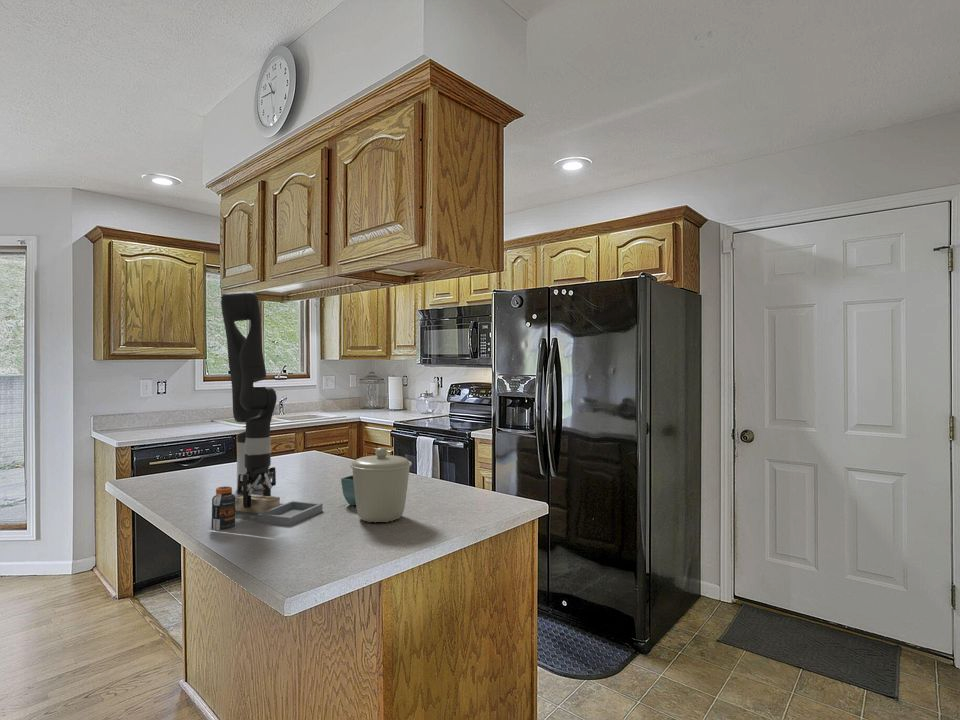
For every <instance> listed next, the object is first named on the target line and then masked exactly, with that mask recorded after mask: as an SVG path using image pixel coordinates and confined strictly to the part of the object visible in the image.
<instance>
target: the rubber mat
mask: <svg viewBox="0 0 960 720" xmlns="http://www.w3.org/2000/svg"><path fill="white" fill-rule="evenodd" d="M283 504H284V503H280V505H283ZM257 514H259V513H253V512H244V511H236V509H235V519H240V520H248V521H254V522H255V521H256V522H257Z"/></svg>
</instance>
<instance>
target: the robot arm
mask: <svg viewBox="0 0 960 720" xmlns="http://www.w3.org/2000/svg"><path fill="white" fill-rule="evenodd" d="M220 305H221V312H222V313H221V314H222V318H223V325H224V329H225V335H226V336H225V337H226V344H227V345H226V346H227V357H228V358H227V360H228V368H229V374H230V381H231V393H232V414H233V419H234V421H235V422H237V423H242V424H243V423H245V430H244V431H241V432H239V433H238V434H237V437H236V440H237V441H236V442H237V443H236V447H237V448H236V452H237V453H236V490H237V495H241V496H243V506H244V508H250V507H251V494H253V492H254V491H260V490H262V495H263V496H272V494H271V492H272V491H271V489H272V488H273V487H275V486H276V485H277V481H276V480H277V477H276V475H277V474H276V471H277V470H276V467H275V466H271V464H272V463H271V461H272V460H271V459H272V458H271V457H272V453H271V452H272V444H271V443H272V442H271V423H272V418H273V415H274V411H275V408H276V404H277V400H278V397H277V392H276V391H275V389H274V388H273V387H270V386H254V383H257V382H260V381H263V380H265V378H266V377H267V372H266V370H267V369H266V364H265V360H264V359H265V358H264V353H263V344H262V343H263V341H262V339H263V338H262V320H261V309H260V308H261V307H260V302H259V298H258V296H257V294H256V293H255V291H237V292H235V291H234V292H233V291H232V292H226V293H223V294H222V295H221V299H220ZM241 321H242V322H243V321H250V328H249V331H248V334H247V336H246V337H245V336H244V335H243V334H242V332H241V331H240V329H239V328H238V326H237V325H236V323H235V322H241Z"/></svg>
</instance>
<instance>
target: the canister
mask: <svg viewBox="0 0 960 720" xmlns="http://www.w3.org/2000/svg"><path fill="white" fill-rule="evenodd" d="M374 453H375V455H367V456H362V457H359V458H356V459H355V460H354V461H353V462H350V464H349V466H350V468H352V475H353V481H354V491H355V500H356V513H357V515H358V517H359V518H360V520H362V521H364V522H366V521H367V523H370V522H375V523H374V524H377V523H376V522H386V523H390V522H389V521H391V522H394V521H393V520H395V521H397V520H399V519H401V517H402V516H403V514H404V511H405V508H406V507H405V505H406V501H407V500H406V499H407V492H408V486H409V485H408V484H409V483H408V482H409V477H410V467H411V466H412V464H413V463H412V461H410V460H408V459H407V458H406V457H404V456H400V455H392V454H391V455H389V454H388V450H387V449H386V447H377V448H376V450H375V452H374ZM396 519H397V520H396Z"/></svg>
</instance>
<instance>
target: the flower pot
mask: <svg viewBox="0 0 960 720" xmlns="http://www.w3.org/2000/svg"><path fill="white" fill-rule="evenodd" d="M340 481H341V489H342V494H343V496H344V499H345V501H346V502H347V504H348V505H349V504H351V505H350V506H354V505H356V500H355V491H354V481H353V474H352V475H348V476H344V477H341V479H340Z"/></svg>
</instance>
